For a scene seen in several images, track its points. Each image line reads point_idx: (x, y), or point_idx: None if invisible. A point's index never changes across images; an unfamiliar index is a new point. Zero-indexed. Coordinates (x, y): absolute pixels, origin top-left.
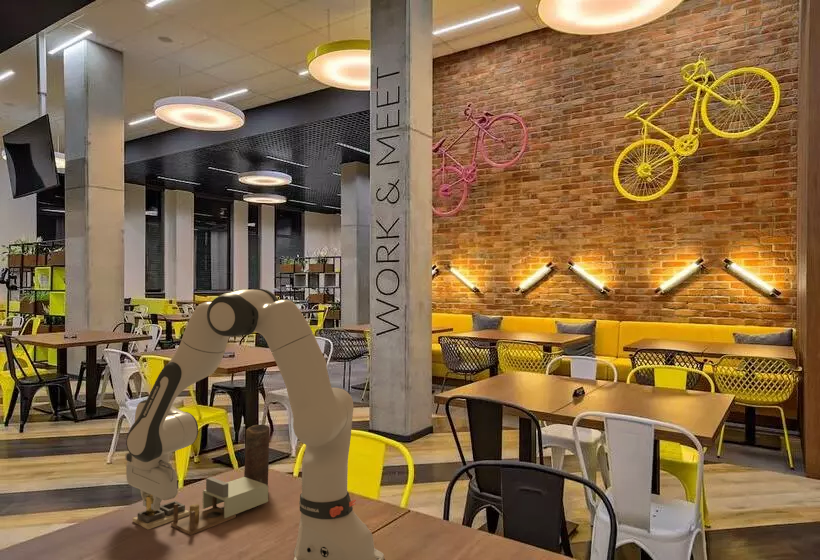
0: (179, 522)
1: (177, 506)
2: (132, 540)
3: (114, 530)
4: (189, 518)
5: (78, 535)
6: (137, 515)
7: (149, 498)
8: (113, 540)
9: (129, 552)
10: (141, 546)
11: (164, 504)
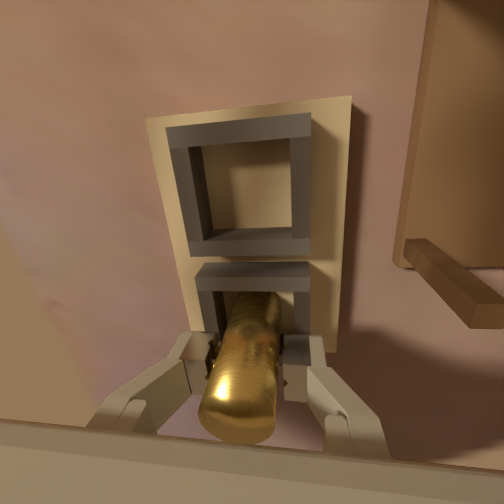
0: (443, 236)
1: (493, 296)
2: (374, 409)
3: None
4: (454, 158)
5: None
6: None
7: (262, 436)
8: (314, 433)
9: (459, 452)
10: (458, 418)
11: (185, 218)
